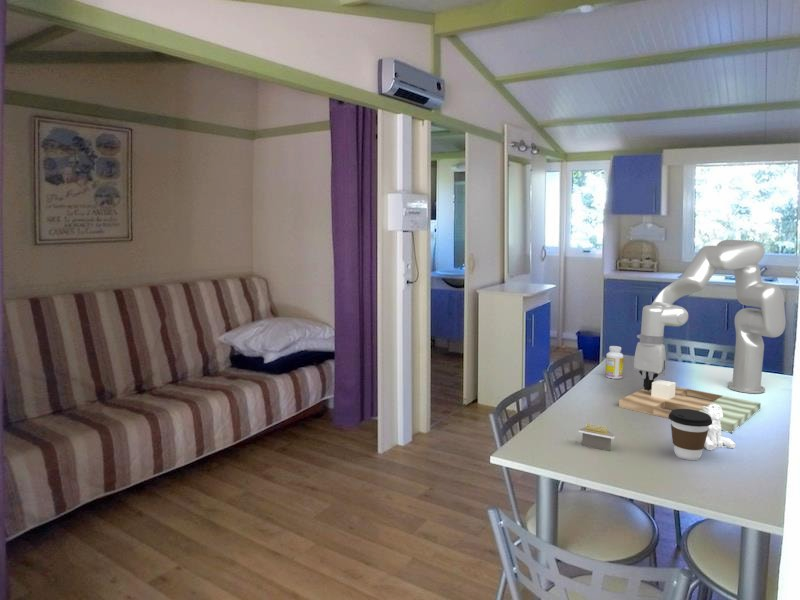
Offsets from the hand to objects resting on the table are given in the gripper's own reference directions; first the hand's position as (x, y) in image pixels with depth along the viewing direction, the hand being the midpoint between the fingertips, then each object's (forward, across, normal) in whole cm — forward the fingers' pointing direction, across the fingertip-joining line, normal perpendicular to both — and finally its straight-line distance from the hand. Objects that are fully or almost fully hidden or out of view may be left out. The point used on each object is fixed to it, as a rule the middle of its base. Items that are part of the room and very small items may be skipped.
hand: (648, 389), depth 220 cm
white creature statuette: (+4, +32, -30) cm, 44 cm away
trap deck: (+4, +14, 0) cm, 15 cm away
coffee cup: (+4, +30, -44) cm, 54 cm away
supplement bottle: (+4, -23, +21) cm, 31 cm away
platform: (+5, +9, -56) cm, 57 cm away
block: (+1, +6, 0) cm, 6 cm away
